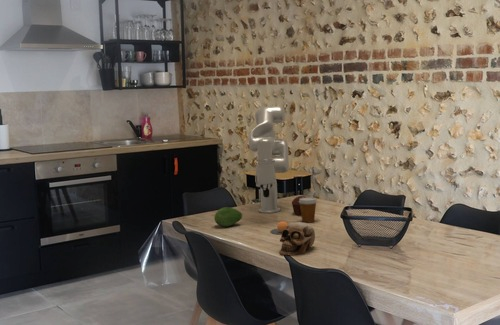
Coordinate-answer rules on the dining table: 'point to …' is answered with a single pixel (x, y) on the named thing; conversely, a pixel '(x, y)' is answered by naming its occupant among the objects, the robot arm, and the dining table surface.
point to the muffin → (297, 205)
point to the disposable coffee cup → (307, 208)
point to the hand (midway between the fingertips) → (266, 196)
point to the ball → (282, 226)
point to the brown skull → (297, 238)
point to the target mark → (275, 232)
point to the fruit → (227, 216)
